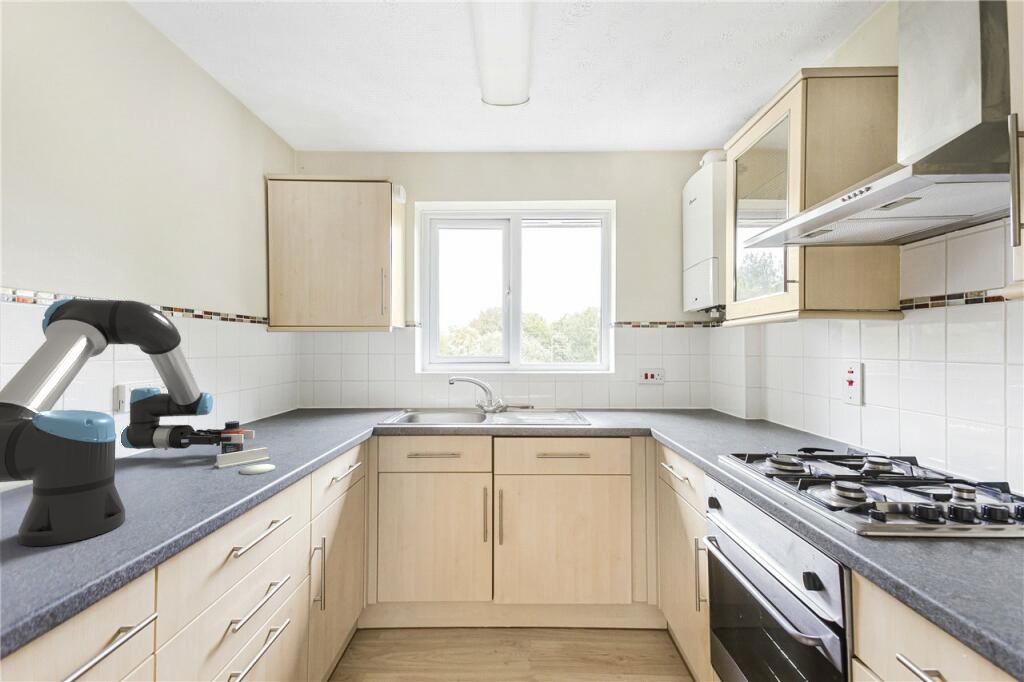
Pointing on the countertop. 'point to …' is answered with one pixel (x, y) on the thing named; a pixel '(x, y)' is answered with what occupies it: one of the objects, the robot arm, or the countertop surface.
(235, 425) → the supplement bottle
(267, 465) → the sage mat
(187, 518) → the countertop surface
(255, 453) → the low wall
